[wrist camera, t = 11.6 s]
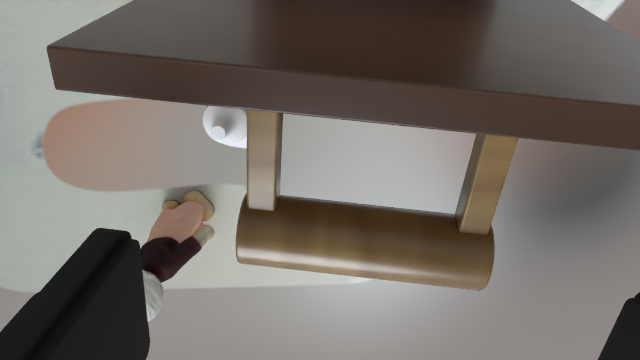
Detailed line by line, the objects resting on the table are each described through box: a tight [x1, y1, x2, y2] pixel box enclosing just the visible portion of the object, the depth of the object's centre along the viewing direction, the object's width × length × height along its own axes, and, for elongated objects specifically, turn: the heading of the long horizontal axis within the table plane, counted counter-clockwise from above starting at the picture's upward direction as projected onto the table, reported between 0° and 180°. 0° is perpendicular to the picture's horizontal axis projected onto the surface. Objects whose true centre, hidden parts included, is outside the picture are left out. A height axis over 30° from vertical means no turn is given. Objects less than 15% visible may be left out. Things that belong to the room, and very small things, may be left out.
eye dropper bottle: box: [202, 106, 247, 148], centre depth 29 cm, size 4×6×12 cm
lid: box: [47, 0, 640, 291], centre depth 17 cm, size 17×12×6 cm
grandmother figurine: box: [140, 190, 214, 322], centre depth 35 cm, size 8×4×13 cm, turn 124°
